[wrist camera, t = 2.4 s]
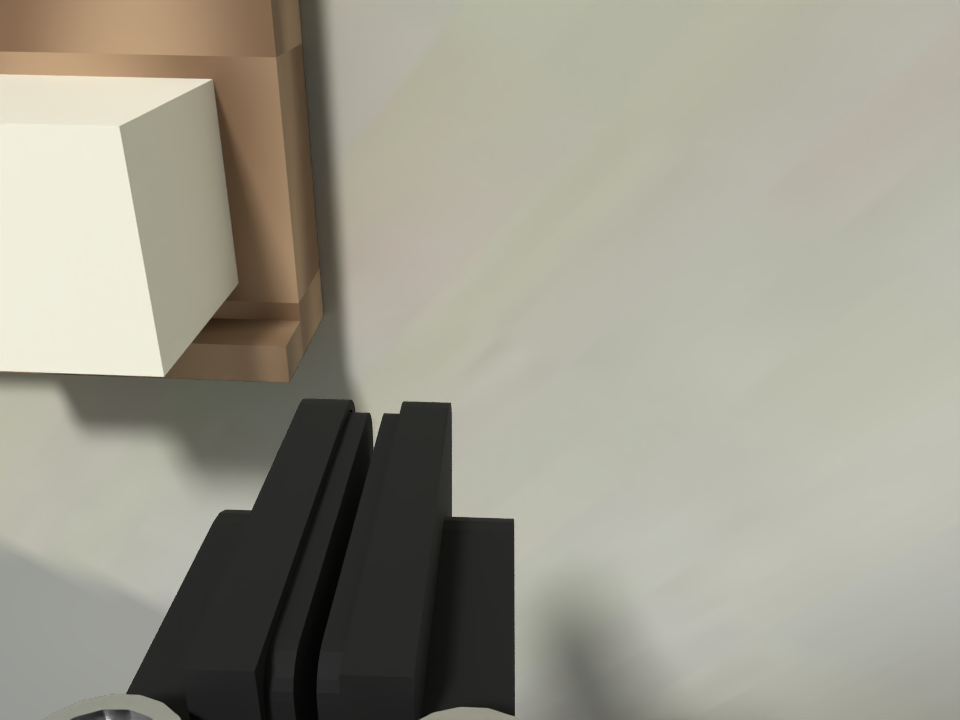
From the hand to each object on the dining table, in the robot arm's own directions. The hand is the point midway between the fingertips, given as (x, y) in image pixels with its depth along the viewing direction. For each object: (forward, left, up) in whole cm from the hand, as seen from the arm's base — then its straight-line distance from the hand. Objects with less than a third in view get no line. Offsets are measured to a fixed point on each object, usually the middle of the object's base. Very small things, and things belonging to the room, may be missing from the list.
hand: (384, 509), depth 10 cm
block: (+8, 0, -12) cm, 14 cm away
